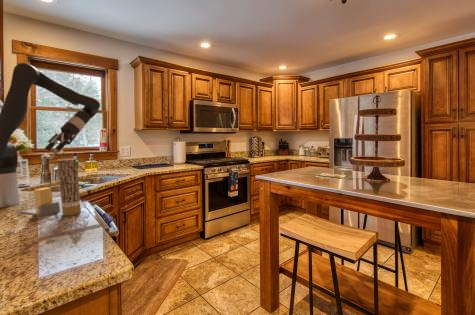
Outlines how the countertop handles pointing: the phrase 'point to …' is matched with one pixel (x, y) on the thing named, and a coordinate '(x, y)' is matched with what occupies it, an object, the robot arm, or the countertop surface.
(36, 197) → the keeper
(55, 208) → the track
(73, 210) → the brown bark pillar
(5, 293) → the countertop surface
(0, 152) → the robot arm
